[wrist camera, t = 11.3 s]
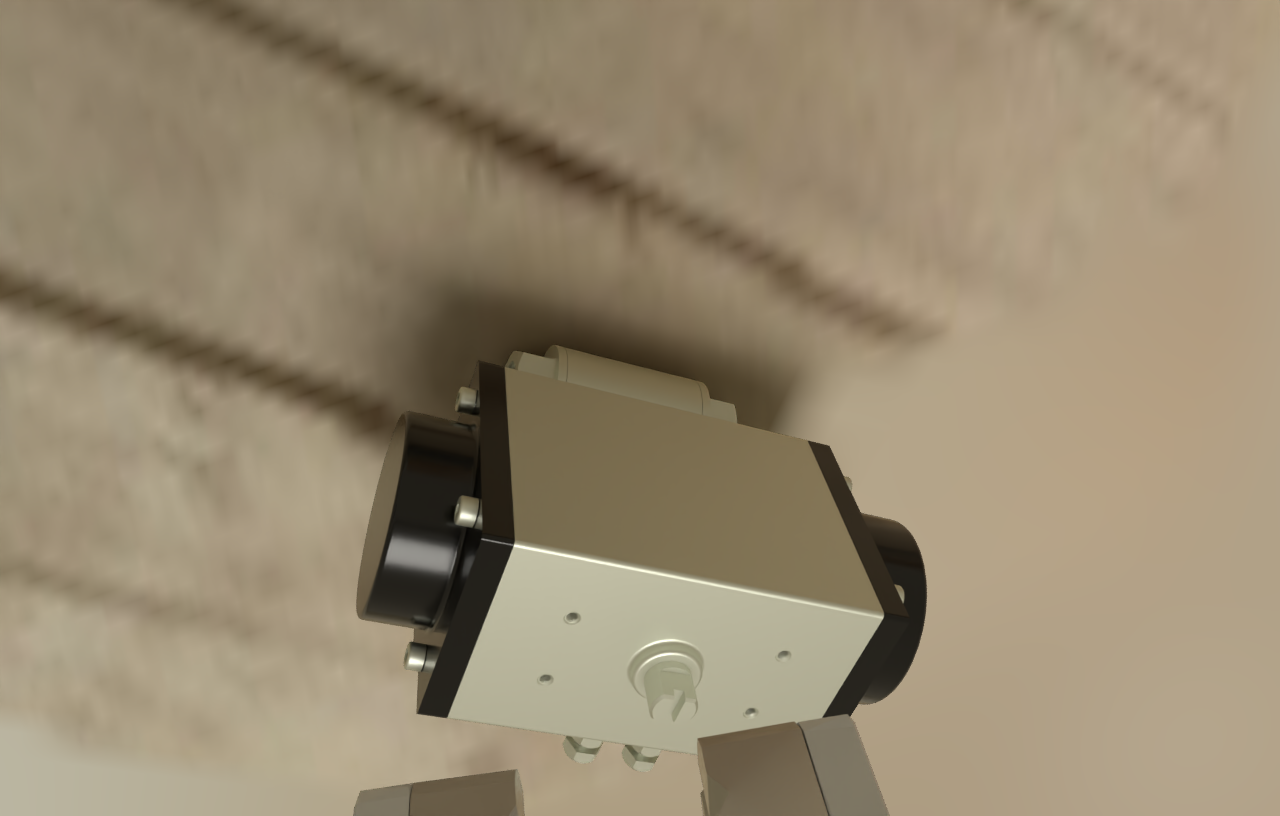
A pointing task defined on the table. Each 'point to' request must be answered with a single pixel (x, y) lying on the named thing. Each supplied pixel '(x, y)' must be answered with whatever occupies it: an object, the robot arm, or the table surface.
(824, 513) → the ball valve
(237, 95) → the table surface
